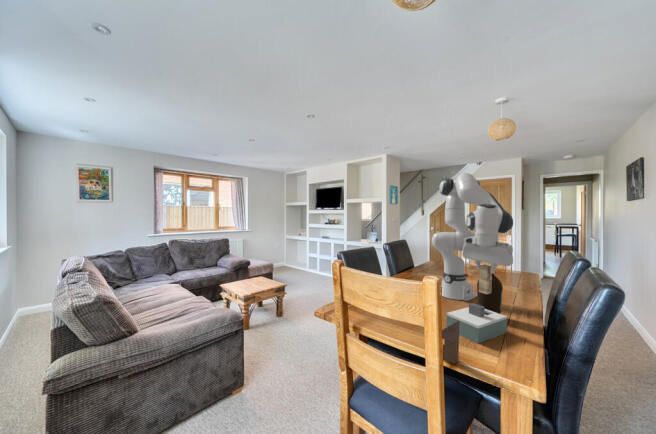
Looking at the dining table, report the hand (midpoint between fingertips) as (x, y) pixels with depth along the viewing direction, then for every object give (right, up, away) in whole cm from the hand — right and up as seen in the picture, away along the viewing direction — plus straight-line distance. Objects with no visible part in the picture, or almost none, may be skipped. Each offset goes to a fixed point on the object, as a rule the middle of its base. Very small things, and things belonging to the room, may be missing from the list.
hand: (485, 272), depth 112 cm
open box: (-6, -25, -2) cm, 26 cm away
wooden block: (-29, -25, -22) cm, 44 cm away
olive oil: (+9, -25, +12) cm, 29 cm away
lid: (-5, -19, -2) cm, 20 cm away
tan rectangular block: (0, -9, 0) cm, 9 cm away
